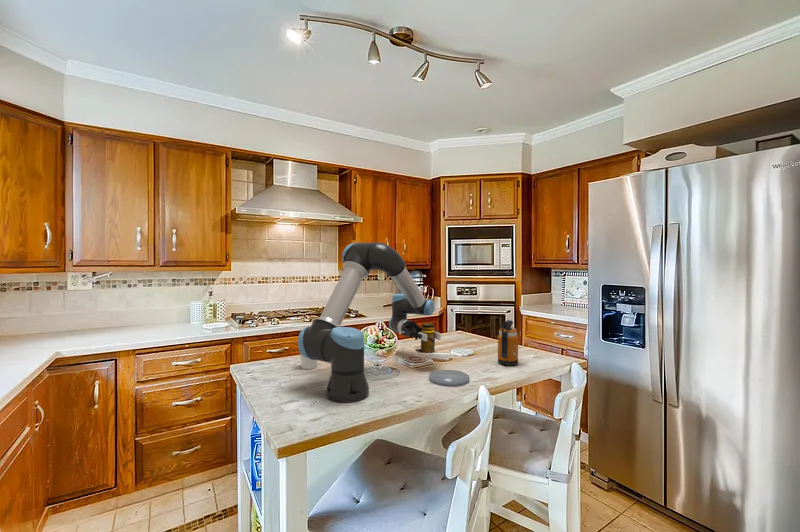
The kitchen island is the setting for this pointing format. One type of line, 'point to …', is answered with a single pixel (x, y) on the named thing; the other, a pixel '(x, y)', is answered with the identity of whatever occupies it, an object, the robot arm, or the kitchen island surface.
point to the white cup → (308, 363)
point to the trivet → (449, 378)
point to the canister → (508, 344)
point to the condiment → (430, 343)
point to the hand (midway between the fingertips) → (433, 337)
